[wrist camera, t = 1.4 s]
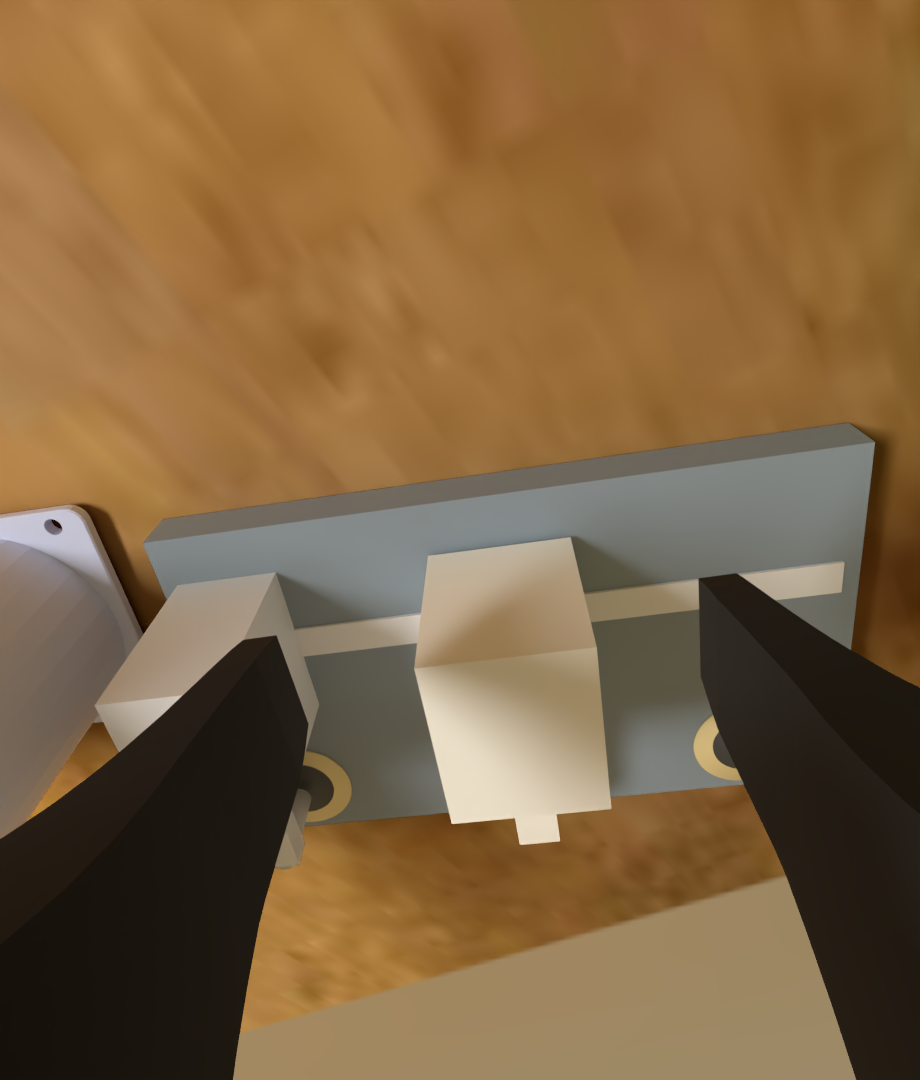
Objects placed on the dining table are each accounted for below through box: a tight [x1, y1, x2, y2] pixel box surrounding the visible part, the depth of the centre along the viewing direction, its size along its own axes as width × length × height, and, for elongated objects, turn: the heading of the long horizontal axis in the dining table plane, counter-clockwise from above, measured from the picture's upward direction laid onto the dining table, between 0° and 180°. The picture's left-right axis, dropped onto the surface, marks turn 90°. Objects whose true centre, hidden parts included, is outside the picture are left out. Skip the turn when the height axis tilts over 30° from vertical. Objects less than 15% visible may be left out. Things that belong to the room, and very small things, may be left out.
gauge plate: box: [94, 423, 875, 870], centre depth 21 cm, size 20×12×7 cm, turn 99°
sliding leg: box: [414, 537, 611, 845], centre depth 20 cm, size 4×9×5 cm, turn 9°
